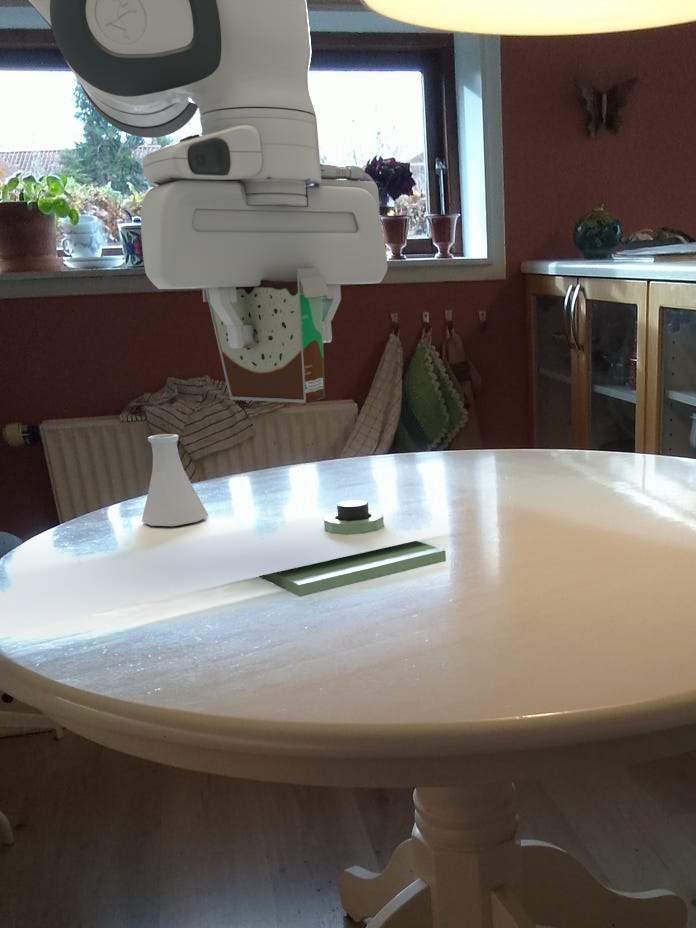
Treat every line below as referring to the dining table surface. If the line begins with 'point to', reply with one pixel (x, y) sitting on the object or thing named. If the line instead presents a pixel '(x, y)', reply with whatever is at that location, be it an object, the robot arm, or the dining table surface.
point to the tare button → (352, 510)
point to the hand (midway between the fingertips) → (281, 345)
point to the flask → (170, 487)
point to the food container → (277, 340)
